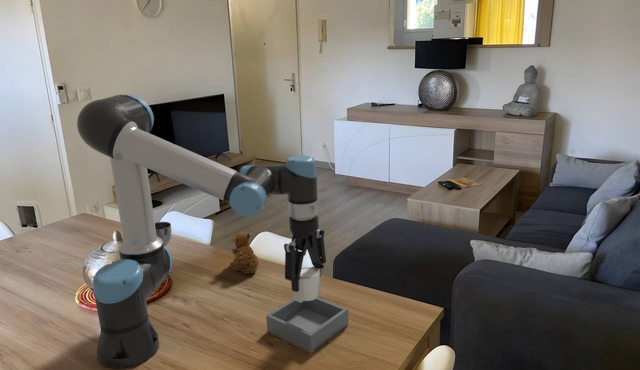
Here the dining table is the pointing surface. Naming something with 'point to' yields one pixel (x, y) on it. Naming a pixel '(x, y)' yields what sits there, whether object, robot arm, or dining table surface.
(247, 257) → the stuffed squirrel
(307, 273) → the white cup
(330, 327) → the charcoal bin
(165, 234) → the wine glass
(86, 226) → the dining table surface
